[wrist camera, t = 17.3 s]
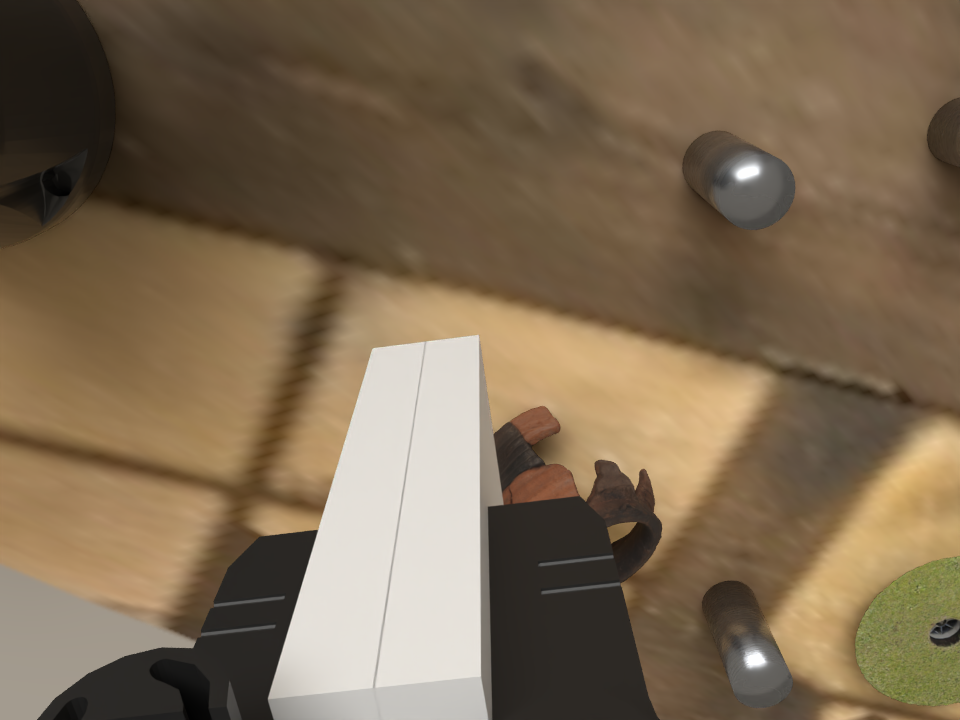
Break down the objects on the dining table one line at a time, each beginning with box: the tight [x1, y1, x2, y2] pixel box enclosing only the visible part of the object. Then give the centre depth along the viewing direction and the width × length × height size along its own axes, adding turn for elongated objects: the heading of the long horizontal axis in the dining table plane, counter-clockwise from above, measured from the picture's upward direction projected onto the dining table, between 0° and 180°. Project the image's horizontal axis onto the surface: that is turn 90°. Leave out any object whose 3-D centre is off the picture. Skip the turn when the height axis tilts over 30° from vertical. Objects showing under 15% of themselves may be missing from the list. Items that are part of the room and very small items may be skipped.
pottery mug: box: [494, 406, 662, 583], centre depth 48 cm, size 12×9×8 cm
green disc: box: [855, 556, 960, 706], centre depth 53 cm, size 11×11×2 cm
